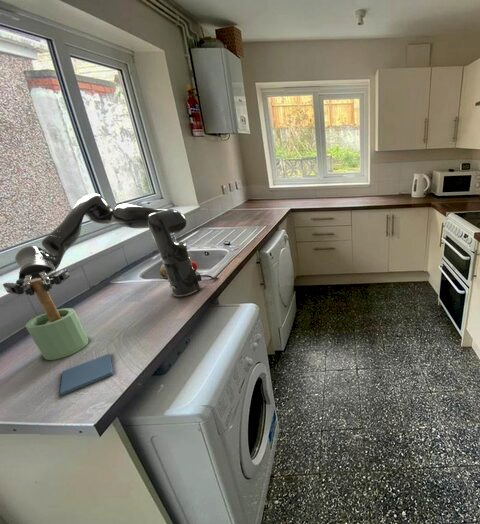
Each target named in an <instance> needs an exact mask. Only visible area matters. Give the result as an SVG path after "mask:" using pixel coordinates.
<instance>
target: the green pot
mask: <svg viewBox="0 0 480 524" xmlns="http://www.w3.org/2000/svg"><path fill="white" fill-rule="evenodd" d="M57 310H58V312H59V314H60V316H61V317H62V316H65V317H63V318H61V319H59V320H56V321H54V322H51V323H48V324H46V323H47V322H48V321H49V319H48V317H47V315H46V313H45V312H43V313H42V314H39V315H37V316H34V317H33V318H31V319H30V320H29V321H27V322H26V324H25V328H26V330H27V332H28V334H29V335H30V337H31V338H32V340H33V343H35V345H36V347H37V349H38V350H39V352H40V354H41V355H42V357H43V358H44V359H45V360H47V361H53V360H60V359H63V358H65V357H68V356H71V355H73V354H75V353H78V352H80V350H82V349H84V348H85V346H87V345H88V343H89V339H88V335H87V333H86V331H85V330H84V327H83V325H82V324H81V323H82V322H81V321H80V319H79V317H78V315H77V313H76V311H75V309H73V308H71V307H65V308H64V307H63V308H57Z"/></svg>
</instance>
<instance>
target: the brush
mask: <svg viewBox="0 0 480 524" xmlns="http://www.w3.org/2000/svg"><path fill="white" fill-rule="evenodd" d="M29 283H30V285H31V287H32V289H33V291H34V296H36V298H37V300H38V302H39V304H40V307H42V310H43V311H44V313H46V315H47V317H48V319H49V321H48V322H47V323H46V324H48V323H51V322H54V321H56V320H59V319H61V318H63V317H65V316H62V317H61V316H60V314H59V312H58V310H57V309H58V308H57V307H56V304H55V303H54V301H53V299H52V297H51V295H50V293H49V291H46V290H45V288H44V287H43V281H42V279H41V278H37V279H33V280H30V281H29Z"/></svg>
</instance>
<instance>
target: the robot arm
mask: <svg viewBox="0 0 480 524" xmlns="http://www.w3.org/2000/svg"><path fill="white" fill-rule="evenodd" d="M85 216H86V218H87V219H89V221H91V222H92V223H95V224H100V225H115V226H121V227H125V228H130V229H137V230H138V229H149V233H150V234H151V237H152V240H153V242H154V244H155V246H156V248H157V250H158V252H159V254H160V257H161V261H162V265H163V264H164V267H165V270H166V273H167V276H168V278H167V279H168V283H169V288H170V289H171V291H172V295H173V296H174V297H177V298H182V297H187V296H190V295H193V294H195V293H197V292H198V291H201V287H200V283H199V282H202V281H203V280H202V277H203V278H206V277H207V278H209V279H212V280H218V277H217V276H216V277H213V276H212V275H209V274H200V272H199V271H197V270H196V272H195V269H194V268H193V266H192V263H191V260H192V259H191V256H190V252H189V249H188V246H187V243H186V242H183V241H174V240H173V238H172V236H174V235H176V234H179V233H182V232H183V231H185V229H186V227H187V219H186V217H185V216H184V214H183V213H181V212H180V211H178V210H176V209H172V208H153V207H148V206H141V205H136V204H130V203H121V204H118V205H116V207H115V208H113V207H112V206H111V205H110V204H109V203H108V201H107V200H106V199H105V198H104V197H103V196H102V195H101V194H99V193H90V194H87V195H85V196H83V197H81V198H80V199H79V200H78V201H77V202H76V203H75V205H74V206H73V207H72V208H71V210H70V211H69V212H68V213H67V214H66V216H65V218H64V219H63V221H61V223H59V225H57V226H56V228H55V229H54V230H52V231H51V232H50V233H49V234H47V235H46V236H45V237H44V238H43V239H42V240H41V246H42V248H41V247H39V246H36V245H28V246H24V247H22V248H21V249H19V250H18V251H17V253H16V254H15V256H14V261H15V263H16V264H17V265H18V266H19V267H20V269H19V271H18V279H17V280H16V281H15V282H4V283H3V284H2V286H3V288H4V290H5V292H6V293H7V294H12V295H13V294H14V295H22V294H25V295H26V296H28V295H29V296H30V297H31V296H35V293H34V291H33V289H32V287H31V285H30V283H29V281H30V280H33V279H37V278H41V279H42V281H43V287H44V288H45V290H46V291H48V292H50V291H51V289H53V287H54V284H55V285H56V286H57V285H61V284H62V283H63V282H65V281H66V280H68V279H69V278H71V275H70V272H68V269H67V268H63V269H61V270H59V271H57V270H58V268H59V267H60V265H61V263H62V260H63V257H64V256H65V254H66V252H67V251H68V250H69V249H70V248H71V247H72V246H73V245H74V244H76V242H77V241H78V240H79V238H80V234H81V230H82V225H83V220H84V217H85Z"/></svg>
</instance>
